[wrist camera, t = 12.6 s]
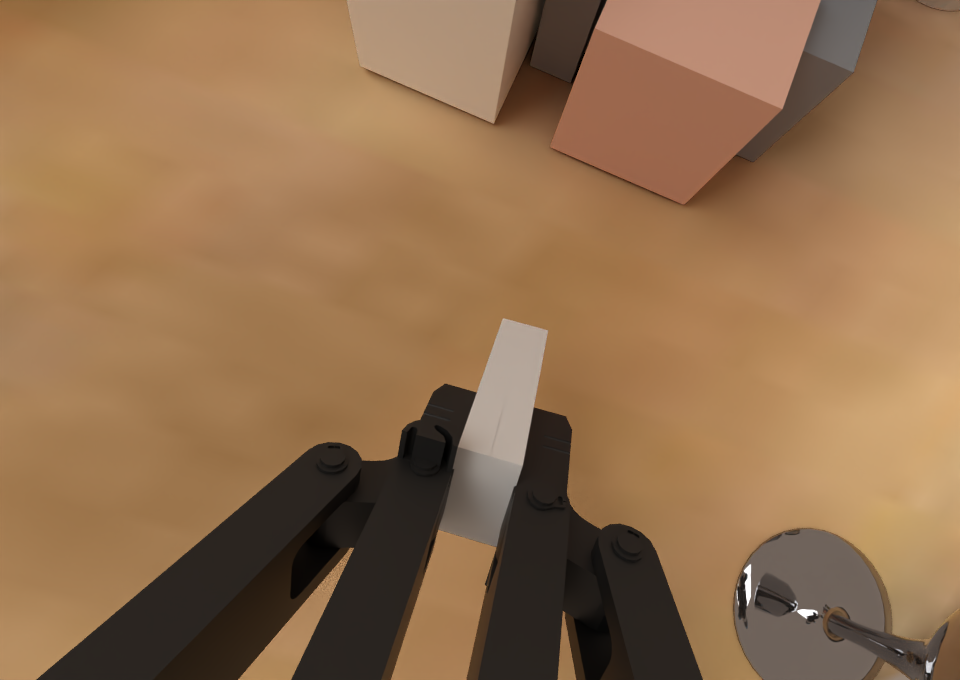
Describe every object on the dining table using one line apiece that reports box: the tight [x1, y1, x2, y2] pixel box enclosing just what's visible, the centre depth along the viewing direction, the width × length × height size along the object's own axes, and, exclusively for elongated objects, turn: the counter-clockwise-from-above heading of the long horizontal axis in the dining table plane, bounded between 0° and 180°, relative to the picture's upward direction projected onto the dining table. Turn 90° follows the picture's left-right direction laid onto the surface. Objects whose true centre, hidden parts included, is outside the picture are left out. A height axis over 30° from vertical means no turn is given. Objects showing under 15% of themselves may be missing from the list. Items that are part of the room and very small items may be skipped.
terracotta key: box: [550, 0, 821, 205], centre depth 24 cm, size 7×6×8 cm
